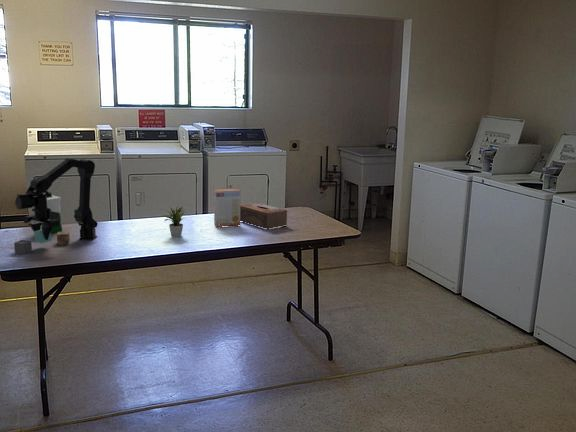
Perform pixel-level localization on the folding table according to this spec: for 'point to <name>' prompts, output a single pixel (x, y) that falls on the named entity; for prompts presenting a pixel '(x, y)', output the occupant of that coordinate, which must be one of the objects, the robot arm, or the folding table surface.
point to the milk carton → (54, 210)
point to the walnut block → (63, 238)
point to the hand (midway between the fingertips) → (42, 238)
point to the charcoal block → (23, 247)
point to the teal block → (41, 236)
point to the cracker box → (226, 207)
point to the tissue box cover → (263, 215)
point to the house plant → (175, 222)
